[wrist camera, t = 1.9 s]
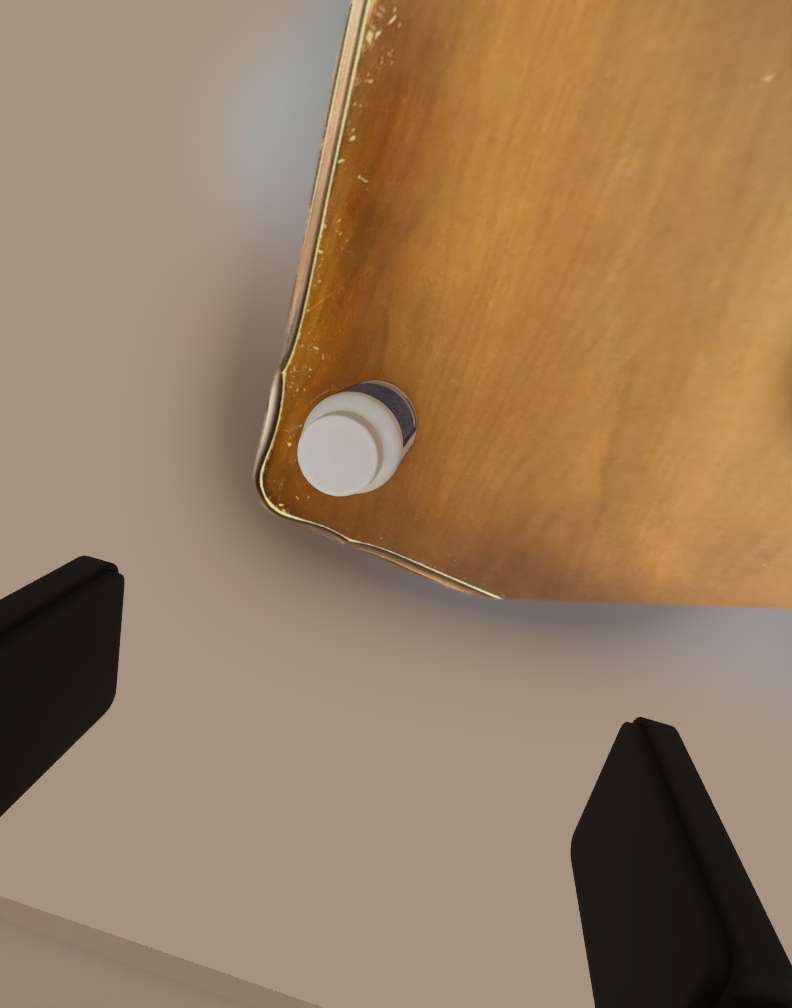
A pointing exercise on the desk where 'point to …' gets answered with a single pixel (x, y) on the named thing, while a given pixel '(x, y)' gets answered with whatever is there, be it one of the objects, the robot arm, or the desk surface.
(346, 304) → the desk surface
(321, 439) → the pill bottle
